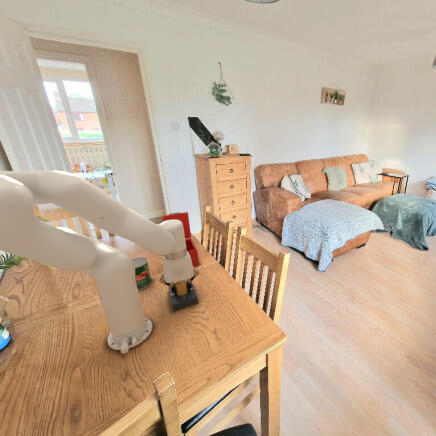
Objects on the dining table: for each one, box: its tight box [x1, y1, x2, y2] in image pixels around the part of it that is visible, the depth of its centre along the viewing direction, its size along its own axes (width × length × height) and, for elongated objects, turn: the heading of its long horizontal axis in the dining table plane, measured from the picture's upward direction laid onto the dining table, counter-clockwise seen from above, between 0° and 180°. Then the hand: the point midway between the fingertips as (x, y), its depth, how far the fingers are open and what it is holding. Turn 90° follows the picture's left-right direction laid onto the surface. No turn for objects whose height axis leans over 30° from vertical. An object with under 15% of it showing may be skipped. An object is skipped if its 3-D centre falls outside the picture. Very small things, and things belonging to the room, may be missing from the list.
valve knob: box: [174, 279, 188, 296], centre depth 95 cm, size 4×4×5 cm
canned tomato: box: [131, 257, 153, 291], centre depth 101 cm, size 8×8×11 cm
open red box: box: [185, 237, 200, 267], centre depth 119 cm, size 14×12×9 cm
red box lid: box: [161, 211, 192, 239], centre depth 122 cm, size 14×12×6 cm
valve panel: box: [167, 282, 199, 312], centre depth 96 cm, size 12×9×3 cm
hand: (182, 291), depth 96 cm, fingers closed on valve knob, 4 cm apart
